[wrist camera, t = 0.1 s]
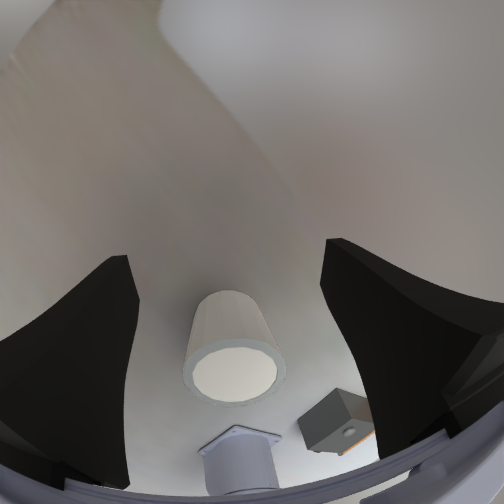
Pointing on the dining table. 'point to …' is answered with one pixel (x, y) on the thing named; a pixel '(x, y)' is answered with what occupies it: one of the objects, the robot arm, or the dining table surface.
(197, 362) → the white cup
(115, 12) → the dining table surface
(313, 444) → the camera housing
